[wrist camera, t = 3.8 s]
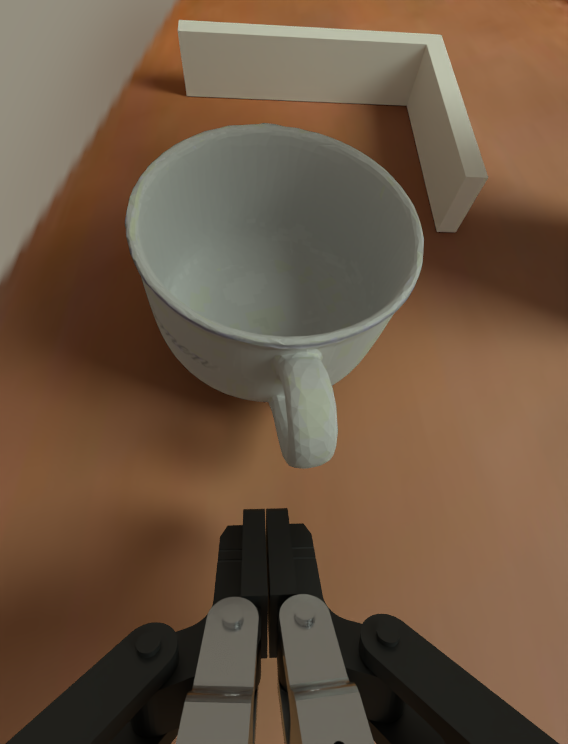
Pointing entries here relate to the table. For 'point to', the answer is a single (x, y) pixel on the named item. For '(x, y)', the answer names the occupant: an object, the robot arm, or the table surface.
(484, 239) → the table surface
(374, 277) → the teacup
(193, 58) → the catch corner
